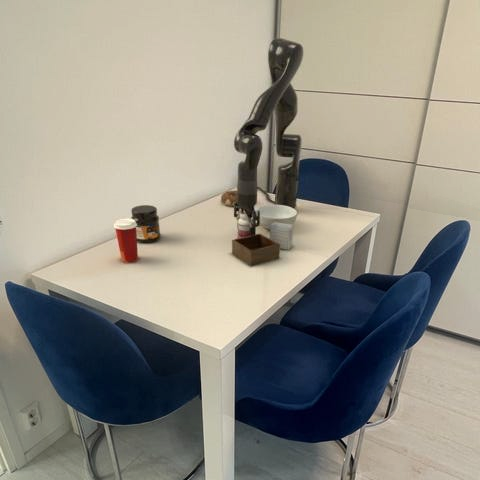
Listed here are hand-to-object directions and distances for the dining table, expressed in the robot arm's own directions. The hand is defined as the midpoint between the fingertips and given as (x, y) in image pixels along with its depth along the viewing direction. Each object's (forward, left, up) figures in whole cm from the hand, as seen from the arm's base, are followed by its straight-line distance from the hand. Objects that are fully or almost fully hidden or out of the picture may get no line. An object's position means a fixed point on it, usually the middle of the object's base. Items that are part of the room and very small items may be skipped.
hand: (246, 232), depth 177 cm
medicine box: (+11, +8, -4) cm, 15 cm away
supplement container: (-22, -32, -4) cm, 39 cm away
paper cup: (-7, -45, -4) cm, 46 cm away
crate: (+14, -5, -4) cm, 15 cm away
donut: (-42, +22, -4) cm, 48 cm away
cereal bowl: (-6, +19, -4) cm, 20 cm away
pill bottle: (0, 0, -4) cm, 4 cm away
